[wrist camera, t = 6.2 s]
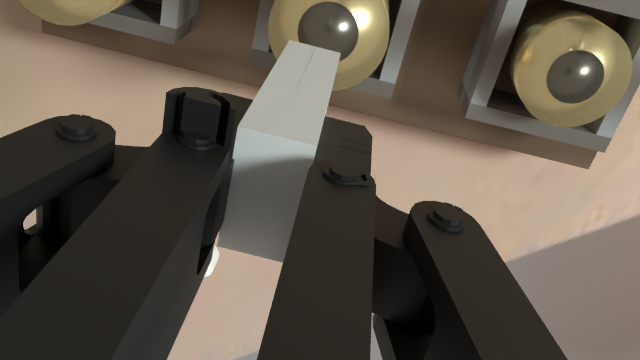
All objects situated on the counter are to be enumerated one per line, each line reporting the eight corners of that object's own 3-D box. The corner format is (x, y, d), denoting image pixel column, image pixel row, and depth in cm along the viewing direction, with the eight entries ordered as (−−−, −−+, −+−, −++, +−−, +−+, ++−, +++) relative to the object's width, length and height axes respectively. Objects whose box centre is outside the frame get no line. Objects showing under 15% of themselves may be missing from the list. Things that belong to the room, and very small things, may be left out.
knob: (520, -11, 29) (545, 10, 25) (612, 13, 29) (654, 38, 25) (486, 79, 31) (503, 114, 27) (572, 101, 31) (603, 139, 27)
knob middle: (298, -59, 26) (279, -46, 22) (401, -33, 26) (404, -14, 22) (278, 44, 28) (257, 76, 24) (373, 68, 29) (371, 104, 24)
